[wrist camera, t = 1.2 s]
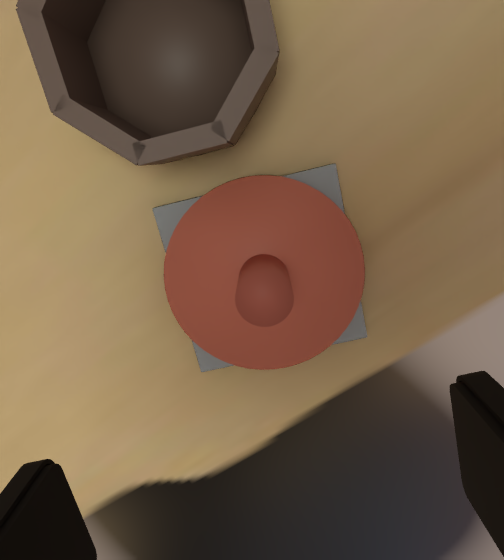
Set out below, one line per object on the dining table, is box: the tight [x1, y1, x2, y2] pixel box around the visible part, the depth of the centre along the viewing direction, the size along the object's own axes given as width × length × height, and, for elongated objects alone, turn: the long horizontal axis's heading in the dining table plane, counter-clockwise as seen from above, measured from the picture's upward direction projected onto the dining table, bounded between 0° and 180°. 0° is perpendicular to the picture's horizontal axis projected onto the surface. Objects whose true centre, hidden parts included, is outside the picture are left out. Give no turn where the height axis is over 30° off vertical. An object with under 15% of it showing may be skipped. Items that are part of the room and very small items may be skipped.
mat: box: [153, 164, 367, 372], centre depth 27 cm, size 11×11×1 cm
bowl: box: [16, 0, 279, 166], centre depth 21 cm, size 10×10×6 cm
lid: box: [164, 175, 365, 370], centre depth 25 cm, size 12×12×5 cm
